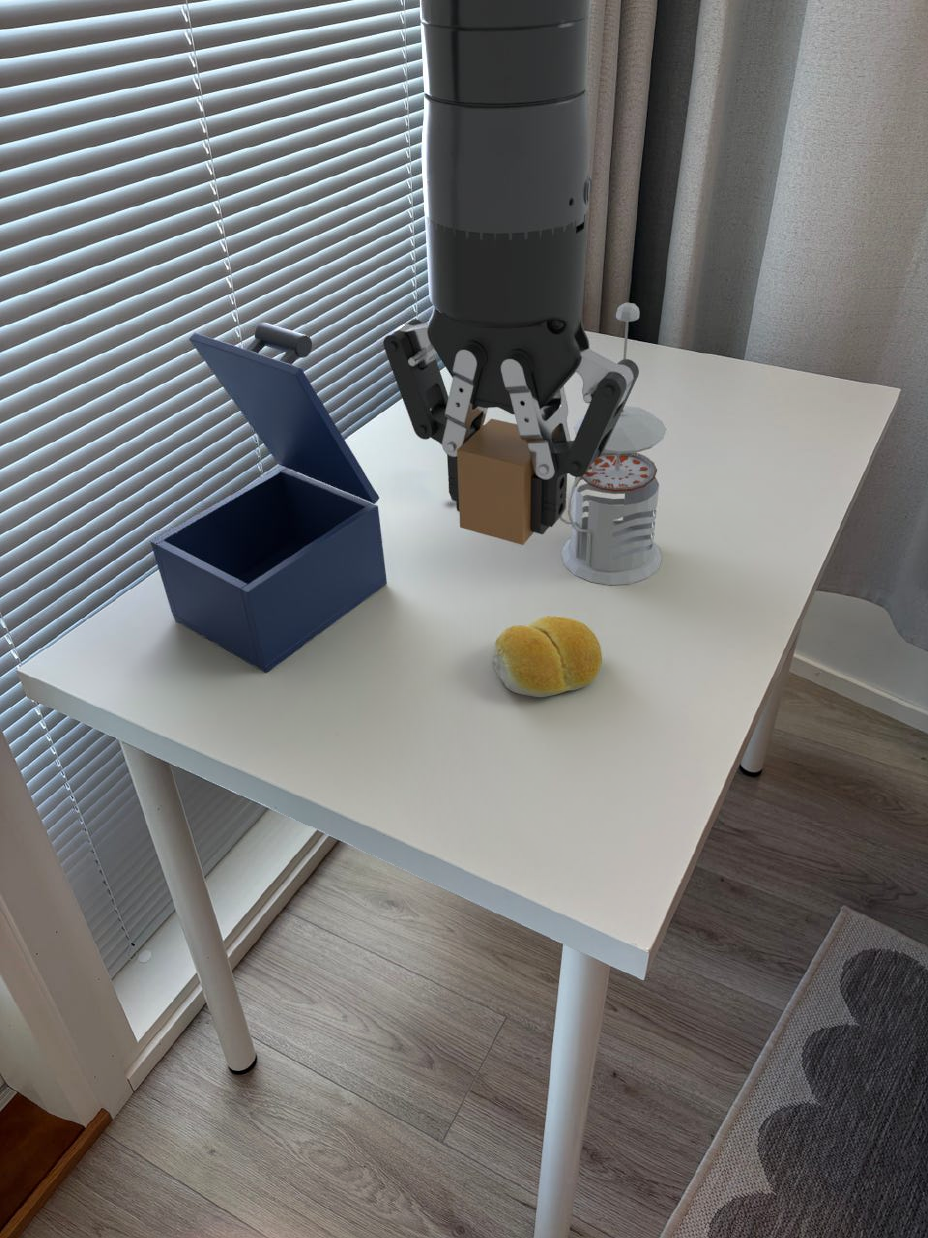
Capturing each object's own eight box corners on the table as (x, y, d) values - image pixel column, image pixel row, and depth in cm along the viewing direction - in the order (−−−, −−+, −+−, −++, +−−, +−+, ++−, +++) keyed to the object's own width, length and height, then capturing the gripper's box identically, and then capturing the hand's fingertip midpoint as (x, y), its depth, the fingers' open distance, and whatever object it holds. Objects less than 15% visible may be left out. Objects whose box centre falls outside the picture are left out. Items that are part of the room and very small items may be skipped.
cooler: (266, 673, 82) (247, 592, 76) (173, 619, 88) (149, 541, 82) (387, 583, 91) (378, 505, 85) (295, 541, 97) (281, 465, 92)
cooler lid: (295, 374, 71) (333, 328, 73) (188, 338, 78) (225, 296, 79) (375, 504, 85) (406, 463, 86) (278, 464, 91) (309, 426, 93)
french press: (683, 557, 92) (716, 304, 76) (596, 606, 87) (611, 344, 71) (612, 515, 98) (628, 273, 82) (526, 558, 93) (526, 308, 77)
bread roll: (616, 683, 79) (620, 646, 76) (517, 712, 77) (516, 675, 74) (574, 624, 85) (576, 589, 82) (481, 649, 83) (479, 614, 80)
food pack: (523, 545, 52) (523, 465, 49) (459, 527, 54) (456, 449, 51) (553, 510, 55) (556, 432, 52) (492, 494, 57) (490, 417, 53)
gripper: (331, 205, 44) (367, 518, 55) (621, 245, 38) (597, 585, 49) (415, 165, 49) (432, 459, 60) (682, 195, 43) (648, 514, 54)
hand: (506, 514), depth 54 cm, fingers closed on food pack, 4 cm apart
